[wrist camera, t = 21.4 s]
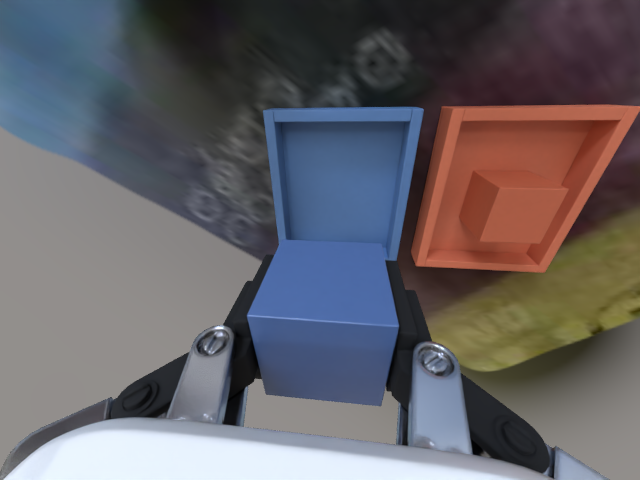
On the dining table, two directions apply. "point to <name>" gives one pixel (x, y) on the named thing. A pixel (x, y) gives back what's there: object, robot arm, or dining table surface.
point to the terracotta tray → (512, 155)
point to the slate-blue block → (325, 322)
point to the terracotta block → (510, 206)
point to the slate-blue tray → (342, 172)
